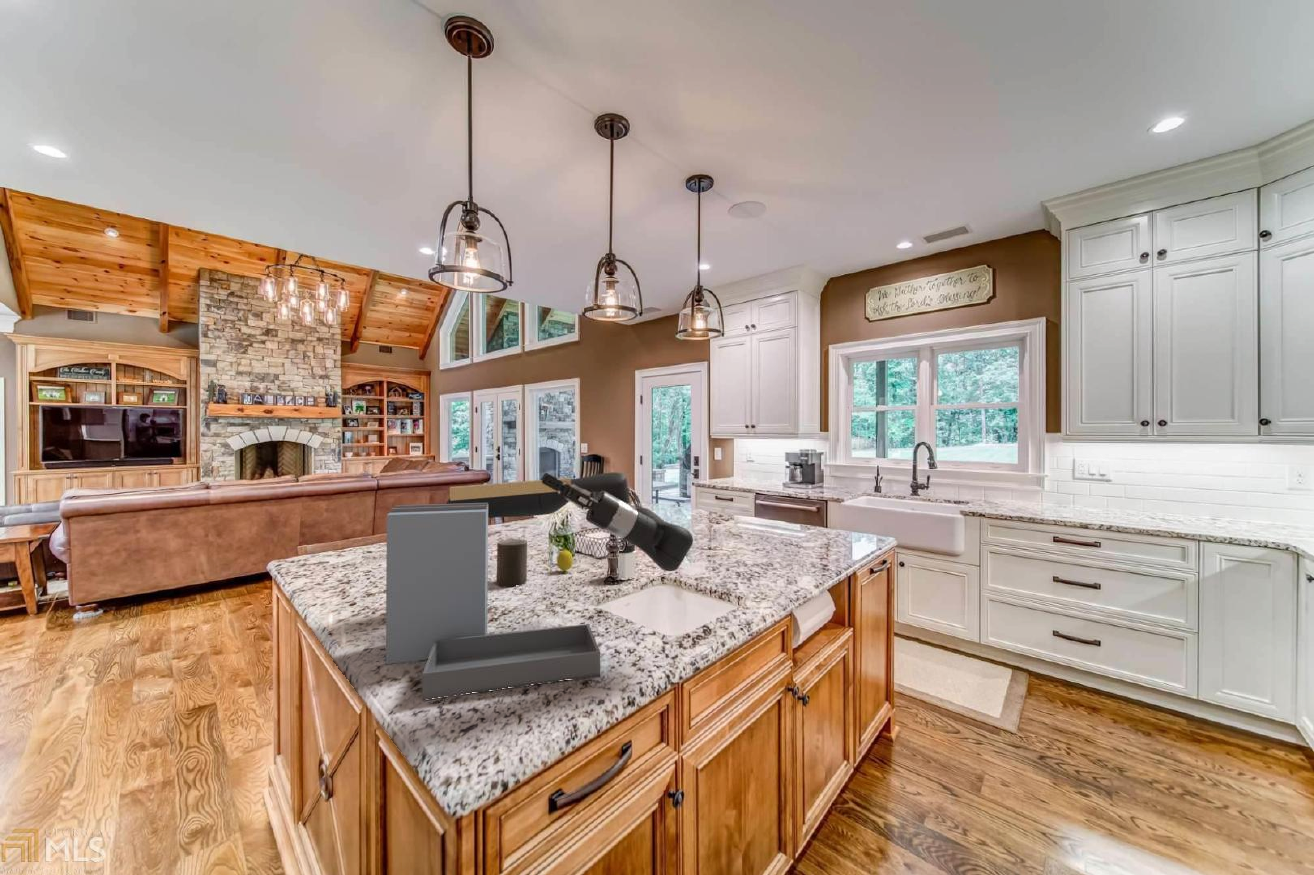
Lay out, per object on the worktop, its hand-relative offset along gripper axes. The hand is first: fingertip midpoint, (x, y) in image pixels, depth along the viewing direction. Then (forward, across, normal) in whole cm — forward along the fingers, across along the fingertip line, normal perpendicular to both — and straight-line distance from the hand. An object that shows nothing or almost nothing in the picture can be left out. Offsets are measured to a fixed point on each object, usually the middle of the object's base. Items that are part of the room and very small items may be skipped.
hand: (543, 477), depth 103 cm
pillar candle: (-15, -62, +38) cm, 75 cm away
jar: (-47, -58, +20) cm, 77 cm away
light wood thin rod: (+4, 0, +6) cm, 7 cm away
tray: (-15, 0, +38) cm, 41 cm away
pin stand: (-1, -16, +46) cm, 49 cm away
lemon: (-31, -70, +29) cm, 82 cm away
